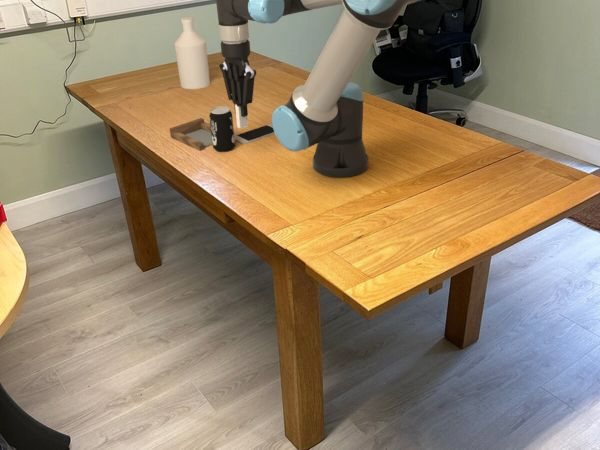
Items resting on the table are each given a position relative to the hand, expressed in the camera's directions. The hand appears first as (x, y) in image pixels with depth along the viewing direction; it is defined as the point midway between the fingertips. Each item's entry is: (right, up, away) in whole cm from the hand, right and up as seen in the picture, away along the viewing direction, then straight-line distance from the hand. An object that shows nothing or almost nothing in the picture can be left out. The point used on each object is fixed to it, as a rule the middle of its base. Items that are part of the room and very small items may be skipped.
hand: (242, 126), depth 163 cm
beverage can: (-6, -5, +11) cm, 14 cm away
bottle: (-25, +27, +66) cm, 76 cm away
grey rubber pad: (-14, -1, +18) cm, 23 cm away
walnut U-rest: (-14, -1, +18) cm, 23 cm away
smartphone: (+3, 0, +20) cm, 20 cm away
